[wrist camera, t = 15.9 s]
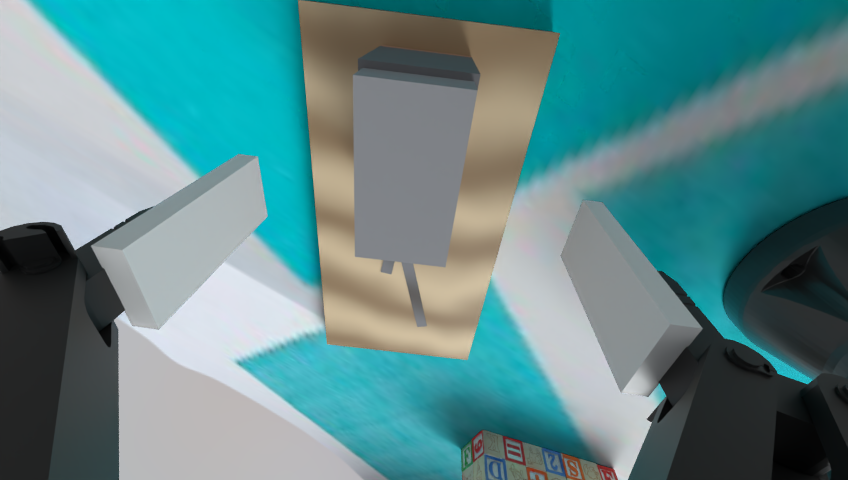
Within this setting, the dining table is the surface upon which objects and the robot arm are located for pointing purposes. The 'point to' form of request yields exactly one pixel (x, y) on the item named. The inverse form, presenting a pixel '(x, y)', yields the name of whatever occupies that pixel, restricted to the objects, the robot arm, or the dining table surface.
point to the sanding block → (410, 151)
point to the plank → (479, 191)
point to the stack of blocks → (523, 462)
